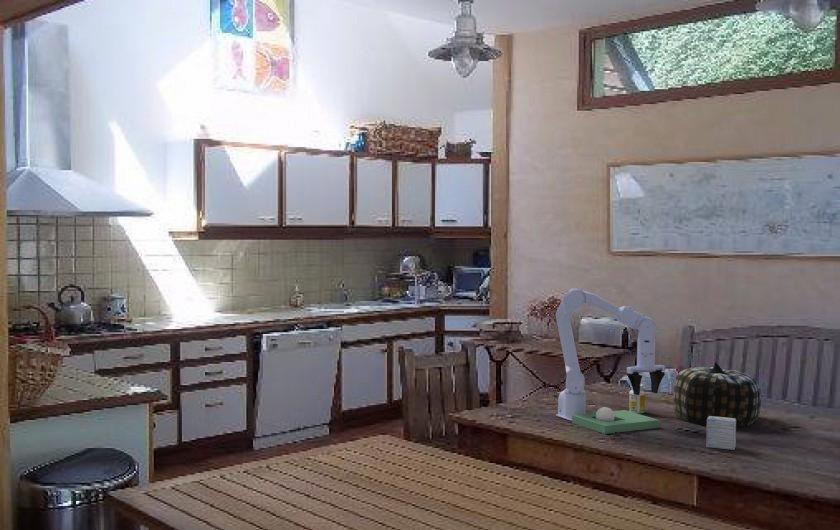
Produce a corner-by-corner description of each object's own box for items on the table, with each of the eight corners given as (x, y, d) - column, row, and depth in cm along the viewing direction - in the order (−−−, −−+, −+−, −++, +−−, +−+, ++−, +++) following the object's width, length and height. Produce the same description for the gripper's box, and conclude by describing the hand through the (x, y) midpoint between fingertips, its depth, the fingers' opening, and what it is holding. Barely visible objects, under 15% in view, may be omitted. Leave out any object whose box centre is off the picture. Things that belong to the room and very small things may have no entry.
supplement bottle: (643, 410, 304) (643, 383, 303) (645, 413, 298) (646, 386, 298) (628, 410, 304) (628, 383, 304) (630, 413, 299) (630, 385, 299)
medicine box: (735, 447, 252) (736, 418, 252) (734, 450, 248) (735, 421, 248) (707, 444, 255) (708, 415, 255) (706, 447, 251) (706, 418, 251)
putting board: (572, 422, 282) (572, 415, 282) (624, 417, 292) (624, 410, 292) (604, 433, 267) (605, 425, 267) (659, 427, 277) (659, 420, 277)
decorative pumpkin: (779, 421, 288) (780, 363, 288) (725, 432, 272) (727, 369, 271) (705, 406, 313) (707, 352, 312) (652, 415, 296) (653, 358, 296)
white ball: (602, 402, 281) (611, 416, 282) (589, 413, 279) (598, 427, 280) (612, 405, 275) (621, 419, 276) (598, 416, 274) (607, 431, 275)
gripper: (636, 356, 277) (636, 397, 278) (671, 353, 284) (670, 394, 284) (622, 353, 284) (622, 393, 284) (656, 351, 290) (656, 390, 290)
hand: (645, 393), depth 285 cm, fingers open, 7 cm apart
